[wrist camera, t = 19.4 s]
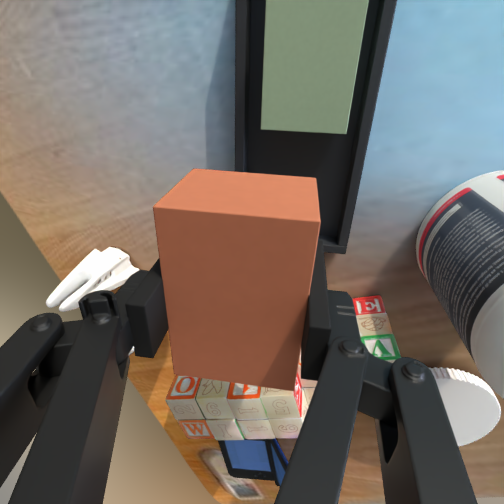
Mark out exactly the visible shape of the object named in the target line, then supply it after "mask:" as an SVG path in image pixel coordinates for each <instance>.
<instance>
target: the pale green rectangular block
mask: <svg viewBox="0 0 504 504" xmlns="http://www.w3.org/2000/svg"><path fill="white" fill-rule="evenodd" d="M368 2H369V0H266V10H265V35H264V60H263V84H262V109H261V130H277V131H295V132H313V133H332V134H346V133H347V127H348V121H349V115H350V109H351V103H352V97H353V91H354V85H355V79H356V73H357V67H358V61H359V55H360V49H361V43H362V37H363V31H364V25H365V20H366V14H367V8H368Z"/></svg>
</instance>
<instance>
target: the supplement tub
mask: <svg viewBox="0 0 504 504" xmlns="http://www.w3.org/2000/svg"><path fill="white" fill-rule="evenodd" d="M416 256H417V261H418V265H419V268H420V270H421V272H422V273H423V275H424V276H425V278H426V279H427V281H428V283H429V284H430V286H431V288H432V289H433V291H434V293H435V295H436V296H437V298H438V300H439V302H440V303H441V305H442V307H443V308H444V310H445V312H446V313H447V315H448V317H449V319H450V320H451V322H452V324H453V325H454V327H455V329H456V331H457V333H458V334H459V336H460V338H461V339H462V341H463V343H464V344H465V346H466V348H467V350H468V351H469V353H470V355H471V357H472V358H473V360H474V362H475V364H476V366H477V369H478V371H479V372H480V374H481V376H482V377H483V378H484V380H485V381H486V382H487V383H488V384H489V385H490V386H491V388H492V389H493V390H494V391H495V392H496V393H497V394H498V395H500V396H501V397H502V398H503V399H504V170H501V171H495V172H490V173H486V174H483V175H480V176H477V177H475V178H472V179H470V180H468V181H466V182H464V183H462V184H460V185H458V186H457V187H455V188H454V189H452V190H451V191H450V192H448V193H447V194H446V195H444V196H443V197H442V198H441V199H440V200H439V201H438V202H437V203H436V204H435V205H434V206H433V207H432V208H431V210H430V211H429V212H428V214H427V215H426V217H425V218H424V220H423V222H422V224H421V226H420V229H419V232H418V236H417V241H416Z"/></svg>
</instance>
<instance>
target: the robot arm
mask: <svg viewBox="0 0 504 504" xmlns="http://www.w3.org/2000/svg"><path fill="white" fill-rule="evenodd" d="M78 304H79V307H80V310H81V314H82V317H83V320H78V321H69V322H62V319H61V317H60V316H59V315H58V314H55V313H44V314H40V315H37V316H35V317H33V318H31V319H29V320H28V321H26V322H25V323H24V324H23V325H22V326H21V327H20V328H19V329H18V330H17V331H16V332H15V333H14V334H13V335H12V336H11V337H10V338H9V339H8V340H7V341H6V342H5V343H4V345H2V346H1V347H0V487H1V486H2V484H3V483H4V481H5V480H6V478H7V477H8V475H9V474H10V472H11V471H12V469H13V468H14V466H15V465H16V463H17V462H18V460H19V459H20V457H21V456H22V454H23V452H24V451H25V449H26V448H27V446H28V445H29V443H30V442H31V440H32V438H33V437H34V436H35V434H36V433H37V434H36V436H35V439H34V441H33V444H32V446H31V449H30V451H29V454H28V456H27V458H26V461H25V463H24V466H23V468H22V471H21V473H20V475H19V478H18V480H17V483H16V485H15V488H14V490H13V493H12V495H11V498H10V500H9V503H8V504H103V499H104V493H105V488H106V483H107V478H108V472H109V468H110V462H111V457H112V451H113V447H114V442H115V437H116V431H117V426H118V421H119V415H120V411H121V405H122V401H123V395H124V390H125V385H126V380H127V375H128V370H129V364H130V359H129V353H130V351H131V349H132V348H133V346H134V351H135V356H140V357H148V358H154V356H155V354H156V352H157V350H158V348H159V346H160V344H161V342H162V340H163V338H164V336H165V334H166V332H167V331H168V329H169V326H168V318H167V310H166V302H165V294H164V286H163V279H162V274H161V267H160V259H158V260H157V262H156V263H155V264H154V266H153V267H152V268H151V270H150V271H145V270H139V271H137V272H135V273H134V274H132V275H130V277H129V278H128V279H127V280H126V281H125V284H123V285H122V286H121V288H120V289H119V290H118V291H117V292H116V294H114V293H113V292H111V291H108V290H99V291H94V292H91V293H88V294H86V295H85V296H83V297H82V298H81V299H80V300H79V302H78ZM35 369H36V370H35ZM34 370H35V371H34ZM33 371H34V372H33ZM32 372H33V373H32ZM301 379H306V380H314V381H318V382H317V384H316V387H315V390H314V393H313V396H312V398H311V401H310V404H309V407H308V410H307V413H306V415H305V418H304V421H303V424H302V427H301V429H300V432H299V435H298V438H297V441H296V444H295V446H294V449H293V452H292V455H291V458H290V460H289V463H288V466H287V469H286V472H285V475H284V477H283V480H282V483H281V486H280V489H279V491H278V494H277V497H276V500H275V503H274V504H338V501H339V496H340V491H341V486H342V481H343V477H344V472H345V467H346V462H347V457H348V453H349V448H350V443H351V438H352V433H353V429H354V424H355V419H356V414H357V410H358V411H360V412H362V413H365V414H367V415H369V416H371V417H373V418H375V425H376V432H377V440H378V448H379V456H380V463H381V471H382V479H383V486H384V494H385V502H386V504H478V503H477V501H476V498H475V495H474V492H473V489H472V486H471V483H470V480H469V477H468V474H467V471H466V468H465V465H464V462H463V459H462V456H461V453H460V450H459V448H458V445H457V442H456V439H455V436H454V433H453V430H452V427H451V424H450V421H449V418H448V415H447V412H446V409H445V406H444V403H443V400H442V397H441V394H440V392H439V389H438V386H437V383H436V380H435V377H434V375H433V373H432V371H431V370H430V369H429V368H428V367H427V366H426V365H425V364H423V363H421V362H420V361H418V360H416V359H412V358H409V357H401V358H398V359H396V360H395V361H394V362H393V363H391V362H388V361H386V360H383V359H380V358H378V357H376V356H374V355H373V354H371V353H370V352H369V351H368V349H367V347H366V346H365V344H364V343H362V341H361V337H360V332H359V327H358V323H357V318H356V313H355V310H354V303H353V299H352V298H351V297H350V296H349V294H348V293H347V292H342V291H333V290H328V289H327V280H326V270H325V260H324V251H323V241H321V240H318V243H317V249H316V256H315V262H314V268H313V275H312V281H311V288H310V294H309V298H308V304H307V310H306V317H305V323H304V330H303V336H302V342H301Z"/></svg>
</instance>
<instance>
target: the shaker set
mask: <svg viewBox="0 0 504 504" xmlns="http://www.w3.org/2000/svg"><path fill="white" fill-rule="evenodd" d="M129 257H130V256H129V255H128V254H126V253H124V252H123V251H121V249H117V248H114V247H113V248H112V247H109V248H107V249H106V250H104V251H102V252H100V251H98V250H96V249H94V250H92V252H91V253H89V254H88V255H87V256H86V257H85V258H84V259H83V260H82V261H81V262H80V263H79V264H78V265H77V266H76V267H75V269H73V271H72V272H71V273H70V274H69V275H68V276H67V277H66V278H65V279H64V280H63V281H62V282H61V283H60V284H59V285H58V286H57V288H56V289H55V290H54V291H53V292H52V293H51V295H50V296H49V298H48V299H47V301H46V305H47V306H48V307H50V308H52V307H55V306H58V305H60V304H61V305H60V307H59V310H60V311H63V312H65V311H70V310H73V309H77V308H79V304H78V302H79V300H80V299H81V298H82V297H83V296H85V295H86V294H88V293H91V292H94V291H99V290H108V291H111V290H113V289H115V288H117V287H119V286H121V285H123V284H125V281H126V280H127V279H128V278H129V277H130V275H132V274H134V273H135V272H137V271H139V269H138V268H134V267H133V266H132V265H131V263H130V261H129ZM119 258H121V259H119ZM110 271H111V274H110ZM133 352H134V346H133V348H132V349H131V351H130V353H129V355H130V354H131V353H133Z"/></svg>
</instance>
